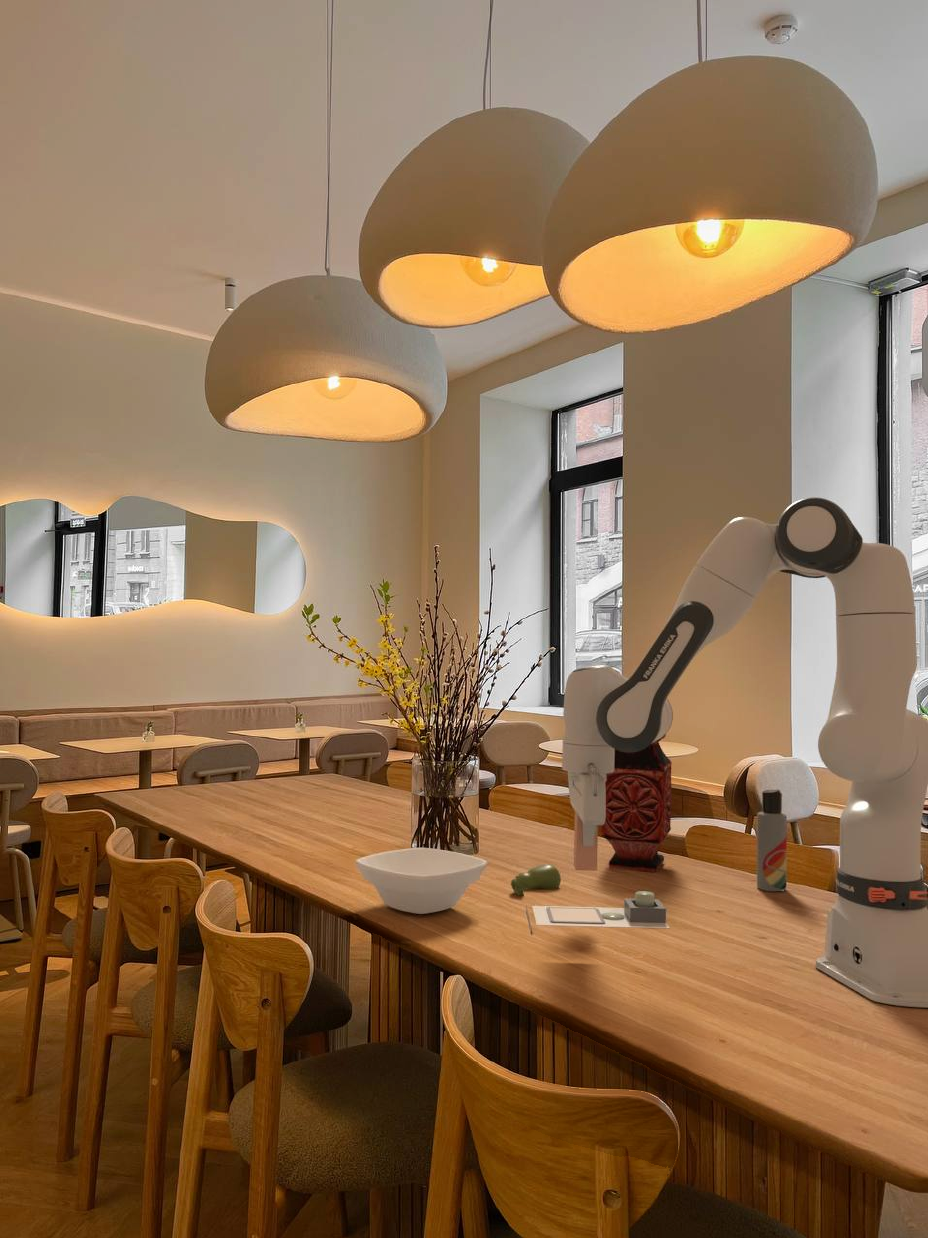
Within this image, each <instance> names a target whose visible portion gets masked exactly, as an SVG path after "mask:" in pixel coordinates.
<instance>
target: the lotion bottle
mask: <svg viewBox="0 0 928 1238" xmlns="http://www.w3.org/2000/svg"><path fill="white" fill-rule="evenodd" d="M761 794H762V795H761V797H762V798H761V800H762V801H761V802H762V803H761V804H762V808H761V809H762V811H759V812H757V814H756V815H757V817H756V818H757V819H756V835H757V836H756V887H757V889H758V888H759V889H758V890H760V889H762V890H761V891H763V890H767V891H766V892H769V891H782V890H785V891H786V890H787V876H788V875H787V859H788V857H787V856H788V855H787V853H788V852H787V849H788V847H787V845H788V842H787V841H788V839H787V835H788V833H787V832H788V831H787V829H788V828H787V826H788V825H787V823H788V822H787V821H788V819H787V818H788V817H787V814H785V813H783V810H782V809H783V808H782V807H783V796H782V795H783V793H782V792H781V790H780V789H766V790H763V791H762V792H761Z"/></svg>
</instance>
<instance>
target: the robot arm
mask: <svg viewBox="0 0 928 1238" xmlns="http://www.w3.org/2000/svg"><path fill="white" fill-rule="evenodd" d="M781 513H782V514H780V516H779V518H778V520H777V523H775V524H771V523H766V522H764V521H762V520H760V519H758V518H754V517H748V516H740V517H739V516H738V517H735V518H733V519H732V520H729V522H727V524H726V525H725V526H724V527H723V528H722V529H721V530H720V531H719V532H718V534H717V535H716V536H715V537H714V538H713V540H711V542H710V543H709V544H708V546H707V547H706V548H705V550H704V551H703V552H702V554H701V556H700V557H699V559H698V560H697V562H696V564H695V565H694V566H693V568H692V570H691V571H690V572H689V575H688V577H687V578H686V581H685V583H684V584H683V586H682V588H681V591H680V593H679V596H678V598H677V600H676V602H675V604H674V607H673V609H672V611H671V613H670V615H669V616H668V619H667V621H666V624H665V625H664V628H663V629H662V630H661V631H660V633H659V635H658V637H657V638H656V639H655V641H654V643H653V644H652V646H651V647H650V649H649V650H648V652H647V653H646V654H645V657H643V659H642V660H641V662H640V663H639V665H638V667H637V668H636V670H635V671H634V673H633V674H632V675H631V676H630V677H629V678H628V677H626V676H625V675H622V674H621V673H619V672H618V671H616V670H615V668H613V667H612V666H610V665H605V664H599V665H593V666H592V665H590V666H586V667H585V666H584V667H581V668H576V669H574V670H573V671H571V672H570V673H569V675H568V677H567V679H566V683H565V689H564V700H563V711H562V712H563V722H564V725H565V729H564V735H563V738H562V750H561V751H562V753H561V769H562V770H563V771H565V772H567V776H568V777H567V780H568V792H569V793H568V795H569V802H570V805H571V807H572V808H573V810H574V811H575V810H576V811H577V813H578V816H579V817H580V819H581V820H582V822H583V834H582V843H583V845H584V846H593V845H594V834H595V830H596V825H598V826H601V825H604V823H605V819H606V788H605V782H606V778H607V777H606V775H607V773H612V772H614V757H615V749H616V750H618V751H622V752H628V753H631V752H638V751H641V750H643V749H645V748H646V747H648V746H649V745H650V744H651V743H653V742H655V741H657V740H658V739H660V738H661V737H662V736H664V735H665V734H666V735H667V733H668V732H669V730H670V728H671V726H672V723H673V720H674V719H673V718H674V713H673V707H672V705H671V703H670V701H669V699H668V697H669V696H670V694H671V692H672V691H673V689H674V688H675V686H676V685H677V683H679V680H680V679H681V677H682V676H683V674H685V672H686V670H687V669H688V666H689V665H690V664H691V663H692V661H693V660H694V659H695V657H696V656H697V655H698V654H699V653H700V652H702V650H703V649H704V648H706V647H707V646H708V645H710V644H712V643H713V642H714V641H716V640H718V639H720V638H721V637H723V636H725V635H727V634H728V633H729V632H731V631H732V629H733V628H735V626H737V625H738V623H739V622H740V621H741V620H742V619H743V618H744V617H745V615H747V613H748V612H749V610H750V609H751V607H752V606H753V604H754V603H755V601H756V599H757V598H758V596H759V594H760V593H761V591H762V590H763V588H764V586H765V585H766V584H767V582H768V581H769V580H770V579H771V578H772V577H773V575H775V574H776V573H778V572H780V573H785V574H790V575H795V576H799V577H803V578H807V579H822V578H827V579H828V580H829V581H830V583H831V585H832V587H833V591H834V598H835V617H836V618H835V629H836V631H835V632H836V633H835V634H836V635H835V636H836V670H835V671H836V672H835V678H834V679H835V680H834V683H833V684H834V686H833V690H832V696H831V701H830V707H829V712H828V716H827V720H826V721H825V724H824V726H822V728H821V730H820V733H819V736H818V740H817V750H818V754H819V757H820V759H821V762H822V763H823V765H824V766H825V767H826V768H827V769H828V770H829V771H830V773H832V774H834V776H837V777H840V778H841V779H843V780H847V781H850V782H851V785H850V791H849V794H848V798H847V802H846V803H845V806H844V809H843V810H842V812H841V815H840V819H839V868H837V870H836V877H835V884H836V890H835V891H836V894H837V895H838V897H837V898H836V901H835V903H834V904H833V906H831V908H829V910H828V911H827V915H826V916H827V917H826V927H825V941H824V955H823V956H821V957H817V958H816V960H815V967H816V969H818V970H819V971H822V973H825V974H826V975H828V976H830V977H832V978H833V979H835V980H837V981H838V982H839V983H842V984H843V985H845V986H847V987H848V988H851V989H853V990H854V991H856V993H857V992H858V993H859V994H860V995H863V996H864V997H865V998H867V999H869V1000H871V1001H873V1002H877V1003H882V1004H887V1005H894V1006H898V1007H899V1006H900V1007H901V1006H902V1007H912V1008H928V896H927V895H928V891H927V887H926V886H925V880H924V878H923V877H922V876H921V868H922V867H921V866H922V864H921V863H922V862H921V858H922V857H921V852H922V850H921V849H922V847H921V846H922V843H921V842H922V841H921V840H922V835H921V834H922V821H923V820H922V819H923V812H924V806H925V802H926V798H927V797H926V796H927V792H928V720H927V719H926V718H925V717H923V716H921V715H920V714H918V713H916V712H914V711H913V710H910V709H908V708H907V705H908V700H909V694H910V689H911V684H912V680H913V677H914V675H915V673H916V671H917V667H918V658H917V656H918V655H917V653H918V652H917V650H918V649H917V632H916V631H917V630H916V608H915V597H914V596H915V595H914V589H913V585H912V584H913V583H912V577H911V573H910V569H909V567H908V565H909V564H908V561H907V558H906V556H905V555H904V553H903V552H902V551H901V550H900V549H898V548H897V547H895V546H892V545H890V544H886V543H881V542H863V541H864V539H863V537H862V535H861V533H860V532H859V530H858V529H857V527H855V525H854V524H853V522H852V521H851V519H850V517H849V516H848V514H847V513H846V512H845V511H844V509H843V508H841V507H840V506H839V505H838V504H836V503H835V502H833V500H832V501H831V500H829V499H826V498H822V497H814V496H813V497H805V498H802V499H800V500H797V501H795V502H793V503H792V504H790V505H789V506H788V507H787V508H785V509H784V511H782V512H781Z"/></svg>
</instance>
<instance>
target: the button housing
mask: <svg viewBox="0 0 928 1238" xmlns="http://www.w3.org/2000/svg"><path fill="white" fill-rule="evenodd" d="M623 901H624V903H623V904H624V905H623V906H624V907H623V908H624V913H625V915H626V916H627V918H628V919H629V921H630V922H644V923H666V924H667V920H666V919H667V909H666V907H665V905H664V904H663V903H662V902H661V900H660V899H655V898H654V907H642V906H635V898H624V900H623Z"/></svg>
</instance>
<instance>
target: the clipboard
mask: <svg viewBox="0 0 928 1238" xmlns="http://www.w3.org/2000/svg"><path fill="white" fill-rule="evenodd" d="M531 907H532V911H533V915H534V919H535V920H534V921H535V924H536V926H552V927H556V926H557V927H559V926H560V927H589V928H590V927H593V928H595V927H596V928H600V927H601V928H633V929H635V928H640V929H670V926H668V924H667V922H666V923H644V922H630V921H629V919H628V918H627V916H626V915H625V913H624V907H602V906H601V907H599V906H596V907H595V906H563V905H562V906H559V905H558V906H557V905H531ZM525 912H526V916H527V922H528V926H529V930H530V934H531V935H533V934H534V933H533V929H532V925H531V921H530V915H529V910H528V907H527V905H525Z"/></svg>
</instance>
